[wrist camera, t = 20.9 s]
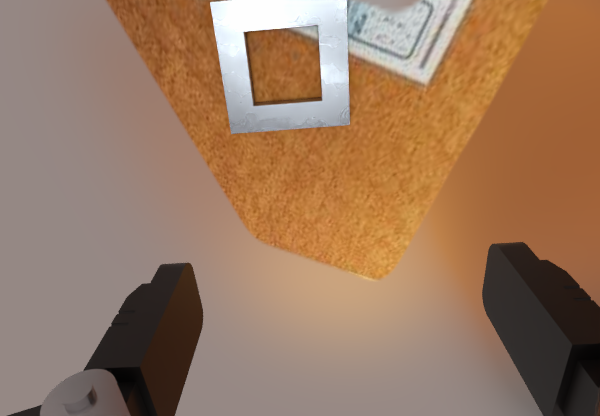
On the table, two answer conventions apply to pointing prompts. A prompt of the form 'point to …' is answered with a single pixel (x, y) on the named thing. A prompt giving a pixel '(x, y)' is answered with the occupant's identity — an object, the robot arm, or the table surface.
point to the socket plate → (237, 73)
